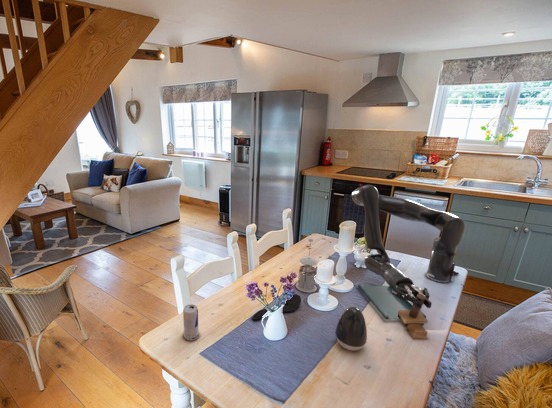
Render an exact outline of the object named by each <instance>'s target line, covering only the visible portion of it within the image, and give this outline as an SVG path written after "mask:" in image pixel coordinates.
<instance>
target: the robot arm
mask: <svg viewBox="0 0 552 408" xmlns="http://www.w3.org/2000/svg"><path fill="white" fill-rule="evenodd" d="M351 199H352V201H353V202H354V203H355V204H356V205H358V206H361V207H363V208H364V214H365V215H364V216H365V217H364V225H363V236H364V242H365V247H366V248H367V249H368V250H375V251H376V252H377V253H375V254H368V255H366V256H365V257H364V260H363V262H364V265H365V268H367V270H369V271H370V272H372V273H373V274H376V275H377V276H379V277H381V278H382V280H384V281H385V283H386V284H387V286H390V287H391V288H393V290H392V294H393V295H394V296H396V297H398V298H400V299H402V300H403V301H406V302H407V301H409V302H412V303H413V304H414V305H415V306H417V307H418V308H421V306H422V303H421V302H420V301H419V300H418V299H417V298H416V296H417V294H422V295H424V296H425V297H426V300H425V302H424V304H423V306H425V307H426V308H427V309H431V308H432V301H431V300H429V299H430V292H429V290H428V288H427V287H423V288H420V287H419V286H417V285H415V284H414V282H413V280H412V279H411V278H410V277H408V276H407V275H406V274H405V273H404V272H402V271H401V270H400V269H398V268H397V267H396V266H394V265H393V264H392V263H391V259H390V257H389V255H388V252H387V250H386V248H385V246H384V243H383V237H382V233H381V226H380V211H381V212H384V213H385V214H389V215H391V216H394V217H397V218H400V219H402V220H405V221H409V222H416V223H417V222H419V223H424V224H427V225H429V226H431V227H434V228H435V229H437V230H439V231H440V232H441V234H440V237H436V238H434V240H433V243H432V248H431V253H430V256H429V261H428V265H427V271H426V274H425V276H426V277H427V278H428V279H429V280H432V281H434V282H436V283H442V284H443V283H449V282H452V279H453V276H457V275H459V272H458V271H457V272H456V271H455V267H456V263H455V259H456V258H455V257H456V254H457V250H458V246H459V245H460V244H461V242H462V240H463V236H464V233H465V229H466V222H465V220H463V218H461V217H459V216H457V215H455V214H453V213H450V212H446V211H441V210H436V209H434V208H433V209H432V208H429V207H428V206H425V205H423V204H421V203H418V202H416V201H413V200H410V199H407V198H403V197H396V196H388V195H383V194H379V191H378V189H377V187H375V186H374V185H372V184H365V185H362V186H359V187H357V188H355V189H354V190H353V191H352V192H351ZM402 295H403V296H404V297H402ZM423 306H422V307H423ZM421 309H422V308H421Z"/></svg>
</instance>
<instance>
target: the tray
mask: <svg viewBox="0 0 552 408" xmlns="http://www.w3.org/2000/svg"><path fill="white" fill-rule="evenodd" d="M357 287H358V288H359V290H360V291H361V292H362V293H363V294H364V295H365V296H366V298H367V299H368V300H369V301H370V303H371V304H372V305H373V306H374V308H375V309H376V310H377V311H378V313H380V314H381V316H382V317H383V318H384V320H400V319H399V318H398V311H399V310H411V307H412V305H413V303H412V302H409V301H407V302H406V301H403V300H402V299H400V298H398V297H396V296H394V295H393V294H392V290H393V288H391V287H390V286H389V285H371V286H370V285H366V286H365V285H362V284H361V283H358V284H357ZM402 297H404V296H403V295H402ZM421 313H422V314H423V315H424V317H425V318H426V319H427V316H426V315H425V314H424V312H422V311H421Z"/></svg>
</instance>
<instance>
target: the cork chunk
mask: <svg viewBox="0 0 552 408" xmlns="http://www.w3.org/2000/svg"><path fill="white" fill-rule="evenodd" d="M406 332H408V334H409V335H410V337H411V338H413V339H420V340H423V339H425V340H426V339H427V336H428V330H426V329H425V327H424V326H421V325H420V324H408V326H406Z"/></svg>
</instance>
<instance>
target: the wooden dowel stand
mask: <svg viewBox="0 0 552 408" xmlns="http://www.w3.org/2000/svg"><path fill="white" fill-rule="evenodd" d="M416 298H417V299H418V300H419V301H420V302H421V303H422V306H421V308H418V307H417V306H415V305H414V304H413V305H412V307H411V310H399V311H398V318H399V319H398V320H399V321H400V323H401V324H402V326H404V327H407V326H408V324H420V325H421V326H422V327H424V325H425V324H427V323H428V319H427V317H426V318H425V317H424V315H425V314H424V313H423V312H422V308H423V307H424V302H425V300H426V297H425V296H424V295H422V294H417V296H416ZM421 312H422V313H423V314H424V315H423V314H422V313H421Z"/></svg>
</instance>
